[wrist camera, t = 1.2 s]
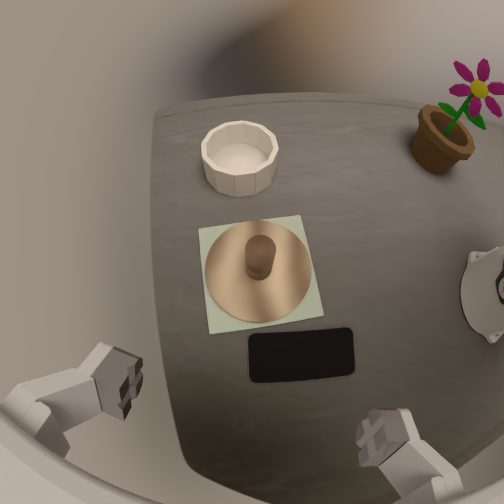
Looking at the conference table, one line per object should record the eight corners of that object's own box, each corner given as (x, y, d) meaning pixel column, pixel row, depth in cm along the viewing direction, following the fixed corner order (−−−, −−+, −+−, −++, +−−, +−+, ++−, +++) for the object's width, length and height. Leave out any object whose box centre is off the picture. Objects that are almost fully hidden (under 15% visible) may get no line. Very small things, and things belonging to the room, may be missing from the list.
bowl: (267, 141, 50) (269, 118, 44) (281, 192, 45) (284, 169, 40) (204, 148, 49) (200, 126, 43) (208, 201, 45) (203, 179, 39)
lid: (297, 218, 43) (307, 188, 35) (319, 312, 38) (337, 300, 30) (201, 231, 42) (192, 203, 34) (212, 330, 37) (203, 322, 29)
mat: (299, 216, 44) (300, 215, 43) (322, 315, 38) (323, 315, 37) (198, 230, 43) (198, 228, 42) (210, 334, 37) (209, 334, 36)
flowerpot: (396, 156, 50) (458, 42, 22) (409, 125, 54) (456, 30, 26) (449, 194, 47) (527, 99, 19) (455, 158, 51) (514, 74, 23)
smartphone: (247, 332, 37) (352, 325, 37) (247, 332, 38) (350, 326, 38) (248, 384, 34) (356, 375, 34) (248, 383, 35) (353, 375, 35)
